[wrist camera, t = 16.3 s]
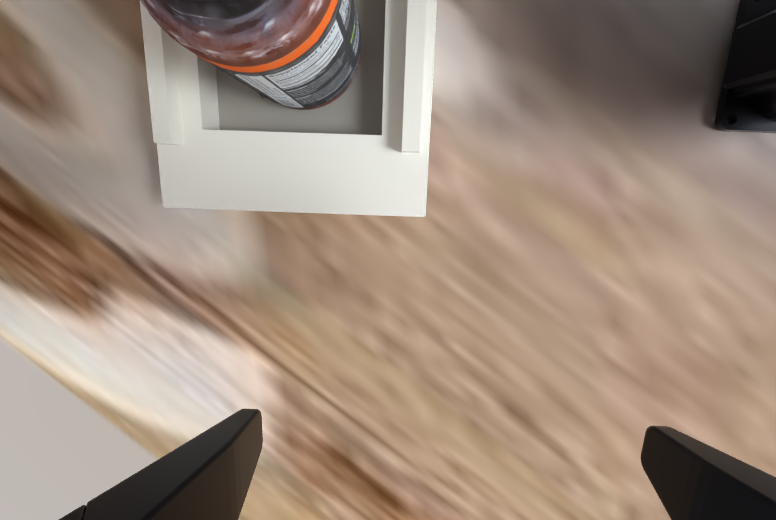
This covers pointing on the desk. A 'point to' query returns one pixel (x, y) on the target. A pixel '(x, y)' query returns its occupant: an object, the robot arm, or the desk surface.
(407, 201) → the board
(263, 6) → the supplement bottle
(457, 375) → the desk surface
